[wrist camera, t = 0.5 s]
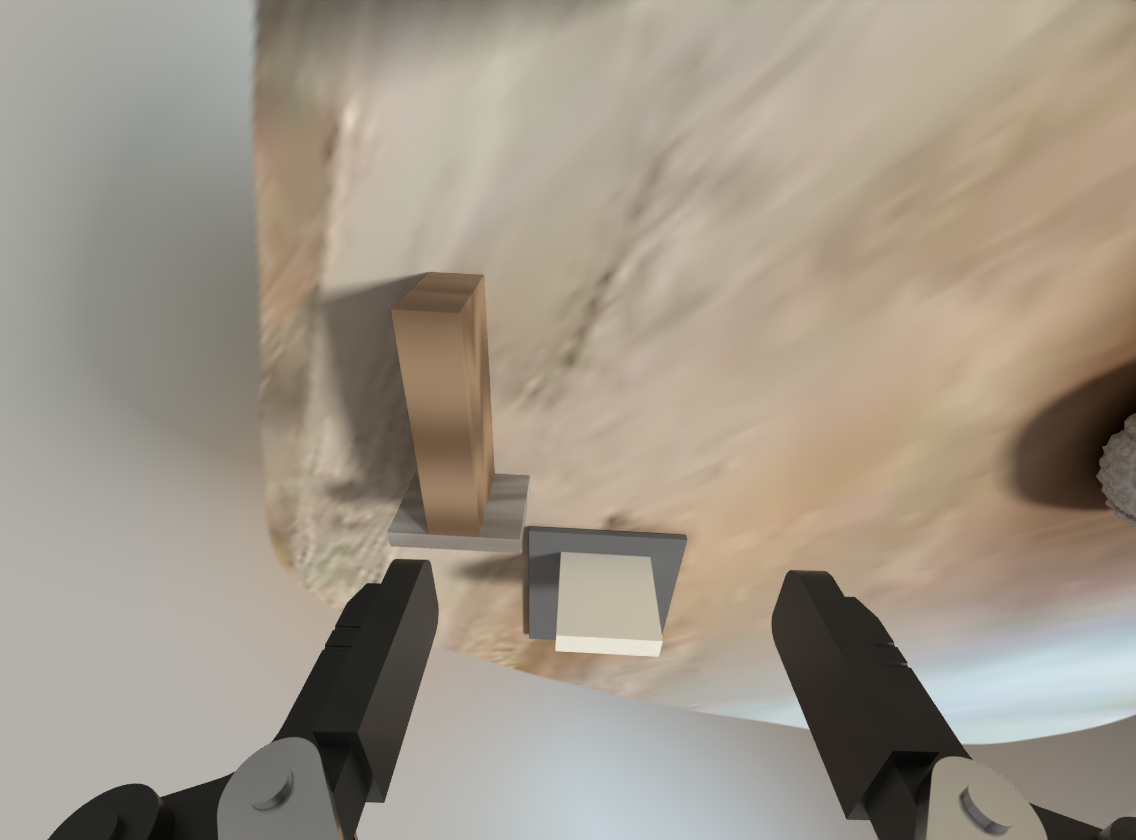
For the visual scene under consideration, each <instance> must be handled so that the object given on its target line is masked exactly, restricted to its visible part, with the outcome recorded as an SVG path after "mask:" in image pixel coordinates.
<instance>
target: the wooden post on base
mask: <svg viewBox="0 0 1136 840" xmlns="http://www.w3.org/2000/svg"><path fill="white" fill-rule="evenodd" d="M391 315H392V321H393V327H394V332H395V338H396V344H397V350H398V356H399V362H400V368H401V374H402V380H403V386H404V392H405V397H406V403H407V409H408V415H409V421H410V427H411V433H412V439H413V445H414V451H415V457H416V463H417V468H418V469H417V471H416V473H415V475H414V478H413V480H412V482H411V484H410V486H409V488H408V490H407V492H406V494H405V496H404V498H403V500H402V503H401V505H400V507H399V509H398V511H397V513H396V515H395V517H394V519H393V521H392V523H391V525H390V528H389V530H388V532H387V533H388V538H389V542H390V546H399V547H417V548H436V549H454V550H472V551H490V552H508V553H520V551H521V544H522V537H523V531H524V524H525V517H526V511H527V504H528V497H529V491H530V476H527V475H509V474H495V470H494V452H493V433H492V414H491V395H490V377H489V358H488V339H487V321H486V302H485V283H484V275H476V274H457V273H439V272H429V273H428V274H427V275H426V276H425V277H424V278H422V279H421V280H420V281H419V282H418V283H417V284H416V285H415V286H414V287H413V288H412V289H411V290H410V291H409V292H408V293H407V294H406V295H405V296H404V297H403V298H402V299H401V300H400V301H399V302H398V303H397V304H396V305H395V306H394V307H393V308H392V309H391Z"/></svg>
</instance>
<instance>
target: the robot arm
mask: <svg viewBox="0 0 1136 840" xmlns="http://www.w3.org/2000/svg"><path fill="white" fill-rule="evenodd" d="M437 624H438V601H437V595H436V590H435V584H434V578H433V573H432V567H431V563H430V561H429V560H413V559H395V560H393V561H392V562H391V564H390V566H389V568H388V570H387V572H386V574H385V576H384V579H383V581H382V583H381V584H376V583H367V584H366V585H365V586H364V587H363V588H362V589H361V590H360V591H359V592H358V593H357V594H356V595H355V596H354V597H353V598H352V599H351V600H350V601H349V602H348V603H347V604H346V606H345V608H344V610H343V612H342V614H341V616H340V618H339V620H338V621H337V623H336V625H335V630H333V631H332V633H331V635H330V637H329V639H328V641H327V642H326V644H325V649H324V650H322V652H321V654H320V656H319V658H318V660H317V662H316V663H315V665H314V667H313V669H312V671H311V673H310V675H309V677H308V679H307V680H306V682H305V684H304V686H303V688H302V690H301V692H300V694H299V696H298V698H297V699H296V701H295V703H294V705H293V707H292V709H291V711H290V713H289V715H288V717H287V719H286V721H285V722H284V724H283V726H282V728H281V729H280V731H279V733H278V734H277V735H276V737H275V738H274V740H273V741H272V742H271V743H270V744H268V745H266V746H264V747H263V748H261V749H259V750H258V751H256V752H255V753H254V754H253V755H251V756H250V757H249V758H248V759H247V760H246V761H245V762H244V763H243V764H242V765H241V766H240V767H239V768H238V769H237V770H236V771H235V772H233V773H231V774H229V775H227V776H225V777H222V778H219V779H217V780H213V781H210V782H207V783H204V784H201V785H198V786H195V787H191V788H188V789H185V790H182V791H179V792H176V793H172V794H169V795H166V796H163V797H159V796H158V795H157V794H156V792H155V791H154V790H153V789H151V788H150V787H148V786H146V785H143V784H127V785H123V786H119V787H116V788H113V789H111V790H109V791H106V792H104V793H102V794H101V795H99V796H97V797H95V798H93V799H92V800H90V801H89V802H88V803H86V804H84V805H83V806H82V807H80V808H79V809H78V810H77V811H75V812H74V813H73V814H72V815H71V816H70V817H68V818H67V819H66V820H65V821H64V822H63V823H62V824H61V825H60V826H59V827H58V828H57V829H56V831H54V833H53V834H52V835H51V836H50V838H49V839H48V840H358V838H357V834H356V829H357V826H358V823H359V820H360V817H361V814H362V811H363V808H364V805H365V802H378V803H384V802H385V798H386V795H387V792H388V788H389V785H390V782H391V779H392V775H393V772H394V769H395V765H396V762H397V759H398V755H399V752H400V749H401V746H402V742H403V739H404V736H405V733H406V729H407V726H408V722H409V719H410V716H411V713H412V709H413V706H414V703H415V700H416V696H417V693H418V690H419V686H420V683H421V680H422V676H423V673H424V670H425V667H426V663H427V660H428V657H429V653H430V650H431V647H432V644H433V640H434V637H435V633H436V629H437ZM772 634H773V639H774V642H775V645H776V648H777V650H778V652H779V655H780V657H781V660H782V662H783V665H784V667H785V670H786V672H787V675H788V677H789V679H790V682H791V684H792V687H793V689H794V692H795V694H796V697H797V699H798V702H799V704H800V706H801V709H802V711H803V714H804V716H805V719H806V721H807V724H808V726H809V728H810V731H811V733H812V736H813V738H814V741H815V743H816V746H817V748H818V750H819V753H820V755H821V758H822V760H823V763H824V765H825V768H826V770H827V773H828V775H829V777H830V780H831V782H832V785H833V787H834V790H835V792H836V795H837V797H838V800H839V802H840V804H841V807H842V809H843V812H844V814H845V817H846V819H849V820H870V821H871V823H872V825H873V828H874V830H875V832H876V834H877V837H878V839H877V840H1136V817H1122V818H1119V819H1117V820H1116V821H1114V822H1113V823H1112V824H1111V825H1109V826H1108V827H1107V828H1105V829H1104V830H1103V829H1100V828H1097V827H1094V826H1091V825H1089V824H1086V823H1083V822H1080V821H1077V820H1075V819H1072V818H1069V817H1066V816H1063V815H1061V814H1057V813H1055V812H1052V811H1049V810H1047V809H1043V808H1041V807H1038V806H1036V805H1034V804H1031V803H1028V802H1027V800H1026V799H1025V798H1024V797H1023V796H1022V795H1021V794H1020V793H1019V791H1018V790H1016V788H1015V787H1013V786H1012V785H1011V784H1010V783H1009V782H1008V781H1006V780H1005V779H1004V778H1003V777H1001V776H1000V775H999V774H997V773H996V772H994V771H993V770H991V769H989V768H988V767H986V766H984V765H982V764H980V763H978V762H975V761H973V760H972V758H971V757H970V756H969V755H968V753H967V752H966V751H965V749H964V748H963V746H962V745H961V743H960V742H959V740H958V739H957V737H956V736H955V734H954V733H953V731H952V730H951V728H950V727H949V725H948V724H947V722H946V721H945V719H944V717H943V716H942V714H941V713H940V711H939V710H938V708H937V707H936V705H935V704H934V702H933V701H932V699H931V698H930V696H929V695H928V693H927V692H926V690H925V689H924V687H923V686H922V684H921V682H920V681H919V679H918V678H917V676H916V675H915V673H914V672H913V670H912V669H911V668H909V667H908V666H907V661H906V660H905V658H904V657H903V655H902V654H901V652H900V651H899V649H898V648H897V647H895V646H894V641H893V640H892V638H891V637H890V635H889V634H888V632H887V631H886V629H885V628H884V626H883V625H882V623H881V622H880V620H879V619H878V617H876V616H875V615H874V614H873V613H872V612H871V611H870V610H869V609H868V608H866V607H865V606H864V605H863V604H862V603H861V602H860V601H859V600H858V599H856V598H855V597H845V596H844V595H843V593H842V591H841V590H840V588H839V587H838V585H837V583H836V582H835V580H834V578H833V577H832V576H831V575H830V574H829V573H828V572H826V571H803V570H790V571H789V572H788V573H787V574H786V576H785V579H784V582H783V585H782V588H781V591H780V594H779V597H778V600H777V603H776V606H775V609H774V612H773V615H772Z"/></svg>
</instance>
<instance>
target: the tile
mask: <svg viewBox="0 0 1136 840" xmlns="http://www.w3.org/2000/svg"><path fill="white" fill-rule="evenodd" d="M662 642H663V639H662V633H661V626H660V619H659V612H658V606H657V599H656V592H655V585H654V579H653V572H652V565H651V558H650V557H643V556H625V555H607V554H589V553H571V552H561V561H560V578H559V596H558V614H557V631H556V650H555V651H567V652H584V653H602V654H620V655H638V656H656V657H659V653H660V650H661V646H662Z"/></svg>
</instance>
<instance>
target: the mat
mask: <svg viewBox="0 0 1136 840" xmlns="http://www.w3.org/2000/svg"><path fill="white" fill-rule="evenodd" d="M686 542H687V537H686V535H677V534H658V533H640V532H622V531H604V530H586V529H568V528H550V527H532V526H530V528H529V638H531V639H548V640H556V631H557V614H558V596H559V578H560V561H561V552H571V553H589V554H607V555H625V556H643V557H650V558H651V565H652V572H653V579H654V585H655V592H656V599H657V606H658V612H659V619H660V626H661V633H663V629H664V625H665V622H666V618H667V614H668V610H669V607H670V603H671V599H672V595H673V591H674V588H675V584H676V580H677V576H678V573H679V569H680V565H681V561H682V558H683V554H684V550H685V546H686Z"/></svg>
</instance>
